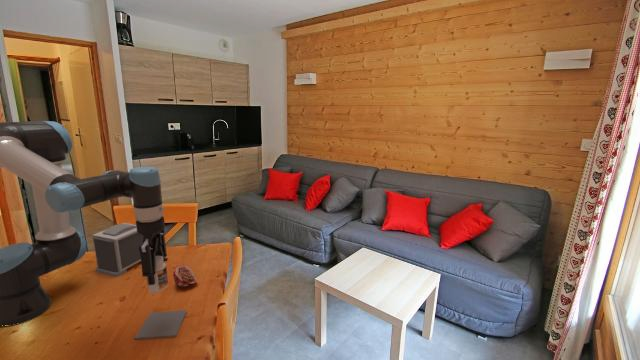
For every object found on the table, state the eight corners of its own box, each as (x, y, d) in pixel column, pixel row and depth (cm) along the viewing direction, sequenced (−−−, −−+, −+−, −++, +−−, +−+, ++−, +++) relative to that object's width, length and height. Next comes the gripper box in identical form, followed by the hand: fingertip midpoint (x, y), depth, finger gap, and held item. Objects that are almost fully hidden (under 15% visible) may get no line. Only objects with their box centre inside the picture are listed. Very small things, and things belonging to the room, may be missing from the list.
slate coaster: (135, 339, 94) (134, 338, 94) (150, 314, 106) (150, 312, 105) (175, 336, 96) (175, 334, 95) (186, 311, 107) (186, 310, 107)
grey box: (131, 253, 148) (126, 217, 144) (153, 257, 144) (148, 221, 140) (94, 271, 131) (87, 232, 127) (117, 277, 127) (110, 237, 123)
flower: (164, 289, 117) (175, 275, 115) (168, 273, 125) (179, 259, 123) (188, 297, 121) (199, 283, 120) (191, 280, 129) (201, 267, 128)
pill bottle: (159, 293, 94) (156, 264, 92) (143, 291, 95) (139, 262, 93) (172, 283, 99) (169, 255, 97) (156, 281, 101) (153, 253, 98)
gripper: (150, 229, 83) (159, 303, 89) (173, 207, 101) (179, 270, 107) (121, 230, 82) (132, 305, 88) (149, 208, 100) (156, 271, 106)
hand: (158, 286), depth 97 cm, fingers closed on pill bottle, 6 cm apart
